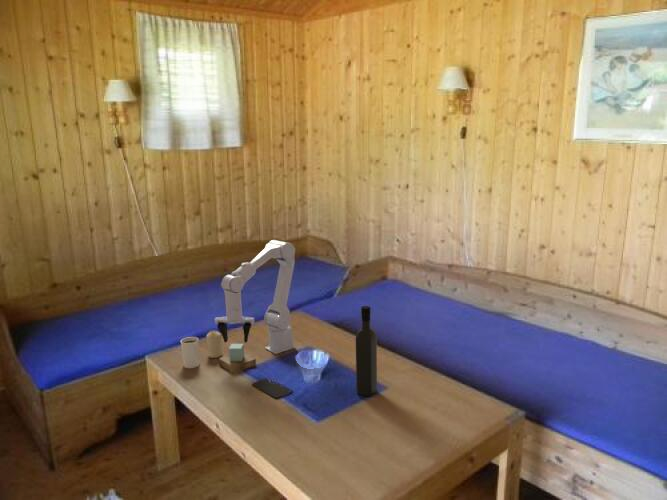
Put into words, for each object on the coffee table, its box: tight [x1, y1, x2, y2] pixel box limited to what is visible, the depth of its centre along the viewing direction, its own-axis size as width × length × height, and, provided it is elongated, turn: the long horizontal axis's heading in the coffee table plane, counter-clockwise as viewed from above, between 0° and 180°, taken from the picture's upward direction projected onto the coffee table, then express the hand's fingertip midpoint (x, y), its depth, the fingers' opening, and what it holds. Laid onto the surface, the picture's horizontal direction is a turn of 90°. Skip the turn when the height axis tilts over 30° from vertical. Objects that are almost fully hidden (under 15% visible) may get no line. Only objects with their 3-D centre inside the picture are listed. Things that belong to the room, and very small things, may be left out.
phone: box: [251, 377, 293, 400], centre depth 188 cm, size 7×1×15 cm
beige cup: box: [180, 336, 200, 369], centre depth 207 cm, size 7×7×10 cm
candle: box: [206, 329, 223, 359], centre depth 215 cm, size 6×6×10 cm
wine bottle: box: [355, 305, 378, 398], centre depth 180 cm, size 6×6×30 cm
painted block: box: [228, 343, 245, 361], centre depth 206 cm, size 4×4×5 cm
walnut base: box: [218, 352, 257, 374], centre depth 207 cm, size 10×10×3 cm
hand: (236, 341), depth 205 cm, fingers open, 7 cm apart
